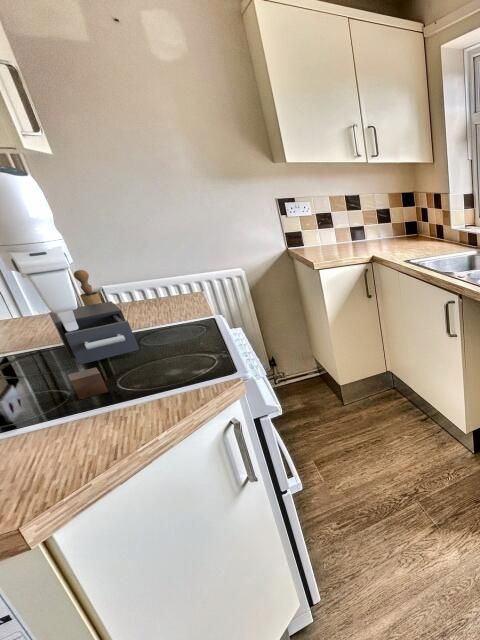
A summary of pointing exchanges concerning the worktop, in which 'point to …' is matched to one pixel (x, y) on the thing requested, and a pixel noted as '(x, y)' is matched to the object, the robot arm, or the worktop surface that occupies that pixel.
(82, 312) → the cabinet
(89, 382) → the block
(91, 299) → the mortar and pestle
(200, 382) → the worktop surface
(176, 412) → the worktop surface
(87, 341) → the drawer
